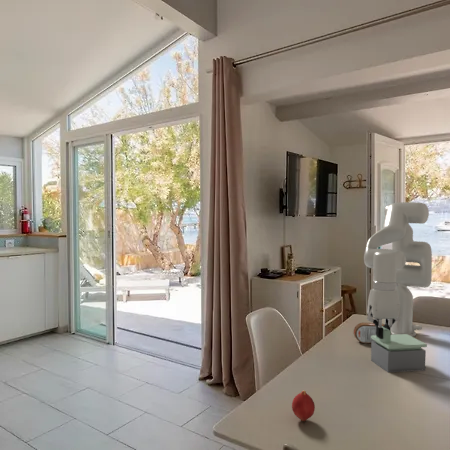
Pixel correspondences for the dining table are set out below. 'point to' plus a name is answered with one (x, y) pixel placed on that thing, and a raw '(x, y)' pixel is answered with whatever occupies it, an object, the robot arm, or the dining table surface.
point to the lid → (398, 341)
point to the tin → (365, 332)
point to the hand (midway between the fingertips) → (383, 337)
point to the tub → (398, 359)
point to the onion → (303, 406)
